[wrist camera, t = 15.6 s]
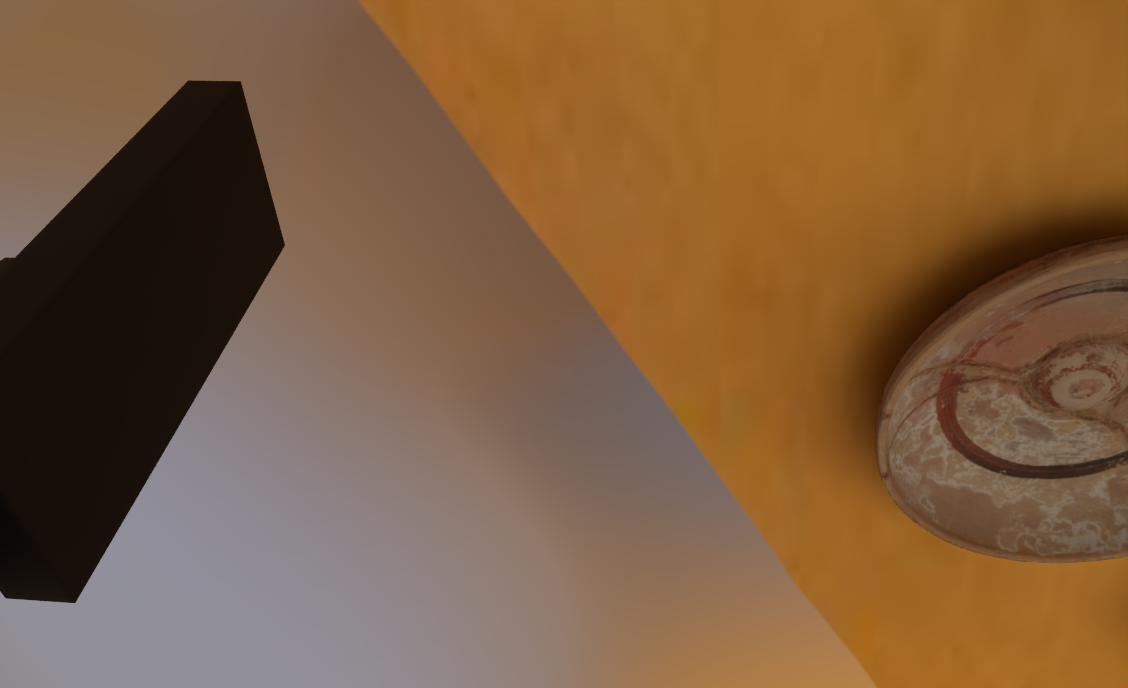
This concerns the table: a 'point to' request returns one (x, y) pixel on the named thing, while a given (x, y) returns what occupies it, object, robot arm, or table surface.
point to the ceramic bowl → (1019, 413)
